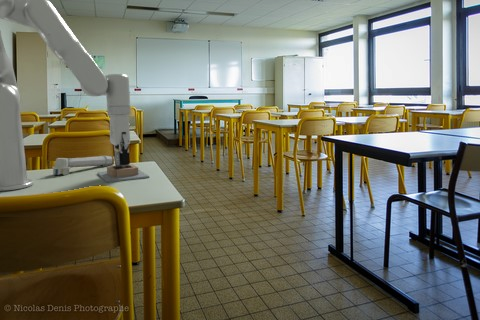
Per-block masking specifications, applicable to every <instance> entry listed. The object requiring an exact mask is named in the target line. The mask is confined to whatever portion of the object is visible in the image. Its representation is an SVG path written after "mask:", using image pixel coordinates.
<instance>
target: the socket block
mask: <svg viewBox="0 0 480 320" xmlns="http://www.w3.org/2000/svg"><path fill="white" fill-rule="evenodd" d="M96 172H97V171H96ZM97 175H98V176H100V178H101V179H102V180H103V181H105V183H114V182H122V181H123V182H124V181H131V180H141V179H149V178H150V175H148V174H147V173H145V172H143V171H142V170H141V169H139V166H136V165H135V164H132V163H130V164H129V168H124V169H116V167H115V165H114V164H113V165H109V166H106V171H98V172H97Z"/></svg>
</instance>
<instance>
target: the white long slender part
mask: <svg viewBox="0 0 480 320" xmlns="http://www.w3.org/2000/svg"><path fill="white" fill-rule="evenodd" d="M114 162H115V158H114V157H113V156H112V155H99V156H87V157H75V158H73V157H72V158H67V157H66V158H65V157H57V158H55V162H54V166H52V168H51V169H53V170H52V171H53V172H52V175H57V176H60V175H63V176H67V175H70V170H71V169H72V168H71V167H101V166H100V165H103V166H102V167H108V165H109V166H113V165H114V164H115V163H114Z"/></svg>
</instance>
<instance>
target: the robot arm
mask: <svg viewBox="0 0 480 320" xmlns="http://www.w3.org/2000/svg"><path fill="white" fill-rule="evenodd" d="M0 19H1V20H4V21H8V22H11V23H15V24H18V25H22V26H24V27H29V28H33V29H35V31H36V32H37V34H38V35H39V36H40V38H41V39H42V40H43V41H44V43H45V44H46V45H47V47H48V48H49V49H50V51H51V52H52V54H54V56H55V57H56V58H57V59H58V60H60V61H61V62H62V63H63V64H65V66H66V67H67V68H68V69H69V70H70V72H71V73H72V75H74V77H75V78H76V79H77V81H78V82H79V84H80V89H81V91H82V93H84V94H85V95H87V96H89V97H93V98H94V97H102V96H106V112H107V117H109V143H110V144H112V145H113V150H114V149H115V148H119V149H120V153H119V159H120V165H129V164H131V161H130V150H129V145H130V144H131V135H130V134H131V132H130V131H131V130H130V121H129V116H131V115H132V113H131V112H132V110H131V98H130V97H131V95H130V93H131V92H130V80H129V79H130V78H129V76H128V75H127V74H125V73H124V74H122V73H109V74H104V72H103V71H102V70H101V68H100V67H99V65H98V64H97V63H96V62H95V60H94V59H93V58H92V55H90V53H88V51H87V50H86V49H85V47H84V46H83V44H82V43H81V42H80V41H79V39H78V38H77V36H76V35H75V34H74V33H73V32H72V30H71V28H69V26H68V25H67V23H66V21H65V20H64V19H63V17H62V16H61V15H60V13H59V12H58V10H57V9H56V8H55V6H54V5H53V4H52V2H51V1H50V0H0ZM16 79H17V78H16V74H15V71H14V66H13V63H12V60H11V58H10V57H9V55H8V53H7V51H6V48H5V45H4V41H3V37H2V31H1V30H0V191H1V192H3V191H5V192H6V191H13V190H20V189H25V188H29V187H31V186H33V184H34V181H33V180H32V179H30V178H28V175H27V174H28V173H27V165H26V164H27V163H26V154H25V144H24V135H23V127H22V117H21V108H20V107H21V106H20V104H21V95H20V91H19V87H18V83H17V80H16ZM113 154H114V157H113V159H115V150H114V151H113Z"/></svg>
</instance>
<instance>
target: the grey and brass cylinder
mask: <svg viewBox="0 0 480 320" xmlns="http://www.w3.org/2000/svg"><path fill="white" fill-rule="evenodd" d="M113 150H114V151H115V158H114V162H115V163H114V164H115V167H116V169H124V168H129V165H120V159H119V153H120V149H119V148H115V149H114V148H113Z"/></svg>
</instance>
